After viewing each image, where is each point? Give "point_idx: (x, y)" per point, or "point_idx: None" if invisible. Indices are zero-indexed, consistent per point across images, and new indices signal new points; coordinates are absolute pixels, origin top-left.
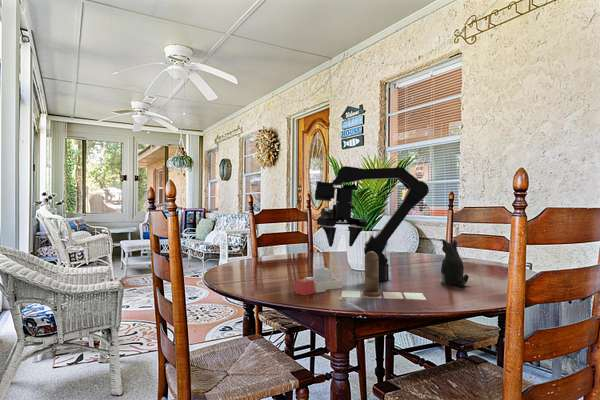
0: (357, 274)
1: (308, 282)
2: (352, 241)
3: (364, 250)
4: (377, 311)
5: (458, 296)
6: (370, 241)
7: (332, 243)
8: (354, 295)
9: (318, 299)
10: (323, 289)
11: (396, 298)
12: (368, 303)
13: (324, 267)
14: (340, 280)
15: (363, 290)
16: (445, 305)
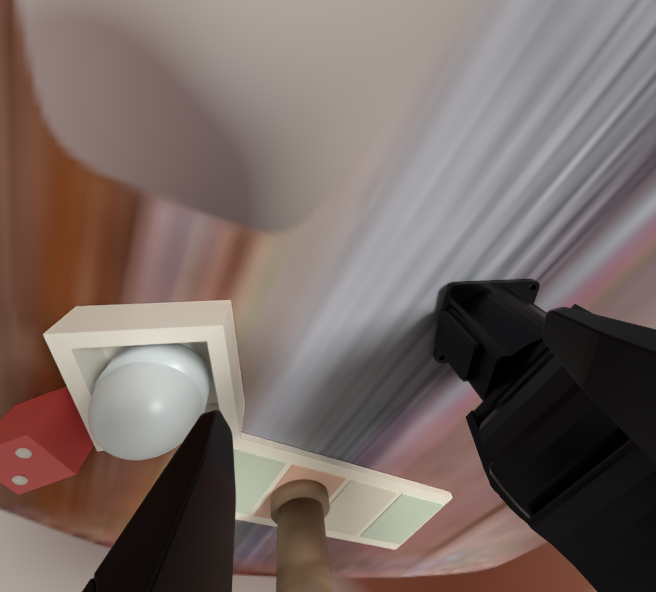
0: (548, 76)
1: (46, 481)
2: (600, 399)
3: (501, 472)
4: (243, 570)
5: (507, 514)
6: (590, 577)
7: (226, 489)
8: (241, 496)
9: (111, 483)
10: None
11: (340, 531)
12: (255, 529)
13: (139, 444)
14: (233, 435)
15: (274, 508)
16: (413, 555)
